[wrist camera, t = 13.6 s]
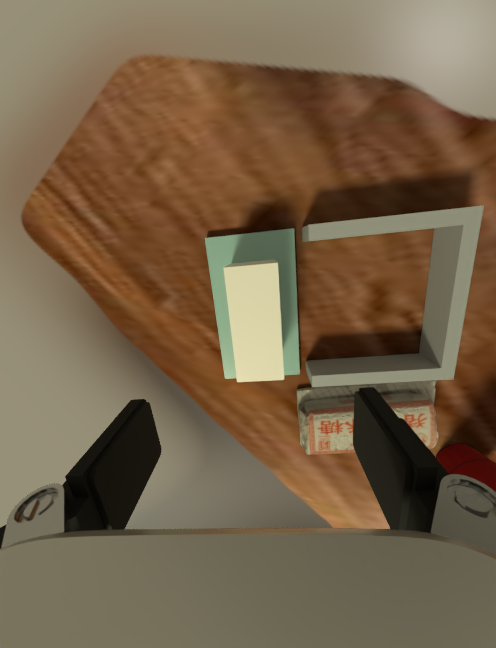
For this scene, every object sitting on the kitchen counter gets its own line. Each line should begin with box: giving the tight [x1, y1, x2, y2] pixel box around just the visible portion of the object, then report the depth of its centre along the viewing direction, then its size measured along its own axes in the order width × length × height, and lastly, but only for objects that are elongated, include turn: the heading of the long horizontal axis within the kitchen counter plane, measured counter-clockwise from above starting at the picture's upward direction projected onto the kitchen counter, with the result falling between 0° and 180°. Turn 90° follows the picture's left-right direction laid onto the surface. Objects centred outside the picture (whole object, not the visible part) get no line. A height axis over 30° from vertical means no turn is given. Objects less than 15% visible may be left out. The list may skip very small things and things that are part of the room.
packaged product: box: [297, 380, 439, 455], centre depth 32 cm, size 18×5×10 cm
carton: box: [223, 260, 284, 382], centre depth 27 cm, size 5×12×6 cm, turn 5°
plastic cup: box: [436, 444, 496, 492], centre depth 30 cm, size 11×11×12 cm
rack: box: [302, 205, 484, 387], centre depth 27 cm, size 16×18×4 cm
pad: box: [205, 228, 300, 379], centre depth 30 cm, size 10×18×1 cm, turn 6°
